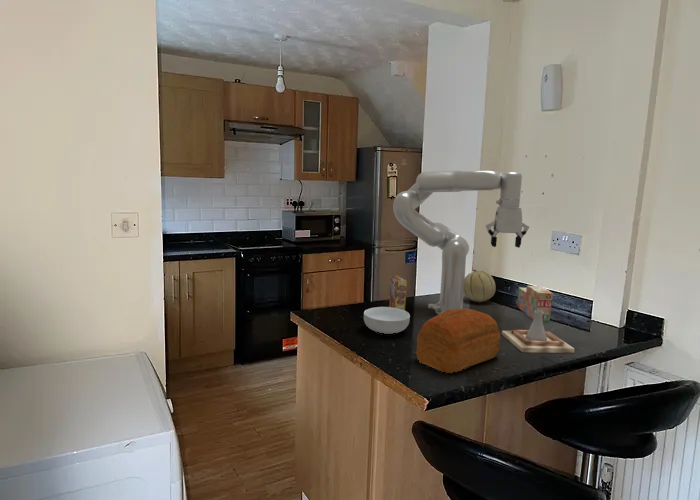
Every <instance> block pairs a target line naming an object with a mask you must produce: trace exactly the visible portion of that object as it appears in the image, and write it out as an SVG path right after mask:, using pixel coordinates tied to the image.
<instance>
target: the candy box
mask: <svg viewBox="0 0 700 500" xmlns="http://www.w3.org/2000/svg"><path fill="white" fill-rule="evenodd" d="M407 286H408V280H407V279H405V278H404V277H402V276H400V275H391V278H390V291H389V293H390V294H389V305H388V307H391V308H398V309H401V310H404V311H406V299H407V298H406V297H407Z"/></svg>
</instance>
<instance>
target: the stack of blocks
mask: <svg viewBox="0 0 700 500" xmlns="http://www.w3.org/2000/svg"><path fill="white" fill-rule="evenodd" d="M553 296H554V293H553V292H551V290H549V289H547V288H545V287H543V286H541V285H526V287H521V286H520V287H518V289H517V303H516V307H517V308H518V309H519V310H520V311H522V312H523V313H524V314H526V315H527V316H528V317H529V318H530V319H532V320H533V319H534V315H535V313H534V311H543V312H544V313H543V315H542V320H543V322H550V321H551V316H552V315H551V313H552V307H553V306H552V305H553Z"/></svg>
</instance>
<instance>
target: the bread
mask: <svg viewBox="0 0 700 500" xmlns="http://www.w3.org/2000/svg"><path fill="white" fill-rule="evenodd" d="M500 340H501V333H500V331H499V326H498V323H497V320H495V319H494V318H493V317H492V316H491V315H490V314H487V313H485V312H482V311H479V310H477V309H472V308H466V307H464V308H462V309H452V310H448V311H444V312H442V313H441V314H439V315H438V314H437V315H435V316H433V317H431V318H430V319H428V320H427V321H425V322H424V323H423V324H422V325H421V328H420V330H419V332H418V334H417V337H416V350H415V351H416V352H415V354H416V358H417V361H418V360H419V362H418V363H419V364H421V363H422V364H425V365H428V366H430V367H432V368H435V369H437V370H439V371H442V372H446V373H445V374H447V373H450V374H454V373H453V372H455V373H458V371H459V372H461V371H464V370H467V369H468V368H470V366H471V367H472V366H476V365H478V364H480V363H484V362H487V361H489V360H491V359H494V358H496V355H497V354H498V352H499V350H500V345H501V343H500V342H501V341H500ZM422 364H421V365H422ZM463 369H464V370H463ZM439 371H438V372H439ZM442 372H441V373H442Z"/></svg>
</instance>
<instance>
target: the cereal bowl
mask: <svg viewBox="0 0 700 500" xmlns="http://www.w3.org/2000/svg"><path fill="white" fill-rule="evenodd" d="M410 318H411V315H410V313H409V312H408V311H406V310H405V311H404V310H401V309H398V308H391V307H389V306H377V307H371V308H368V309H365V310H364V312H363V321H364V324H365V325H366V327H368V329H370V330H371V331H372V332H375V333H377V332H379V333H384V334H393V333H396V334H398V333H401V332H403V331H405V329H407V327H408V326H409V324H410V321H411V320H410ZM379 333H378V334H379ZM393 335H394V334H393Z"/></svg>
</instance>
